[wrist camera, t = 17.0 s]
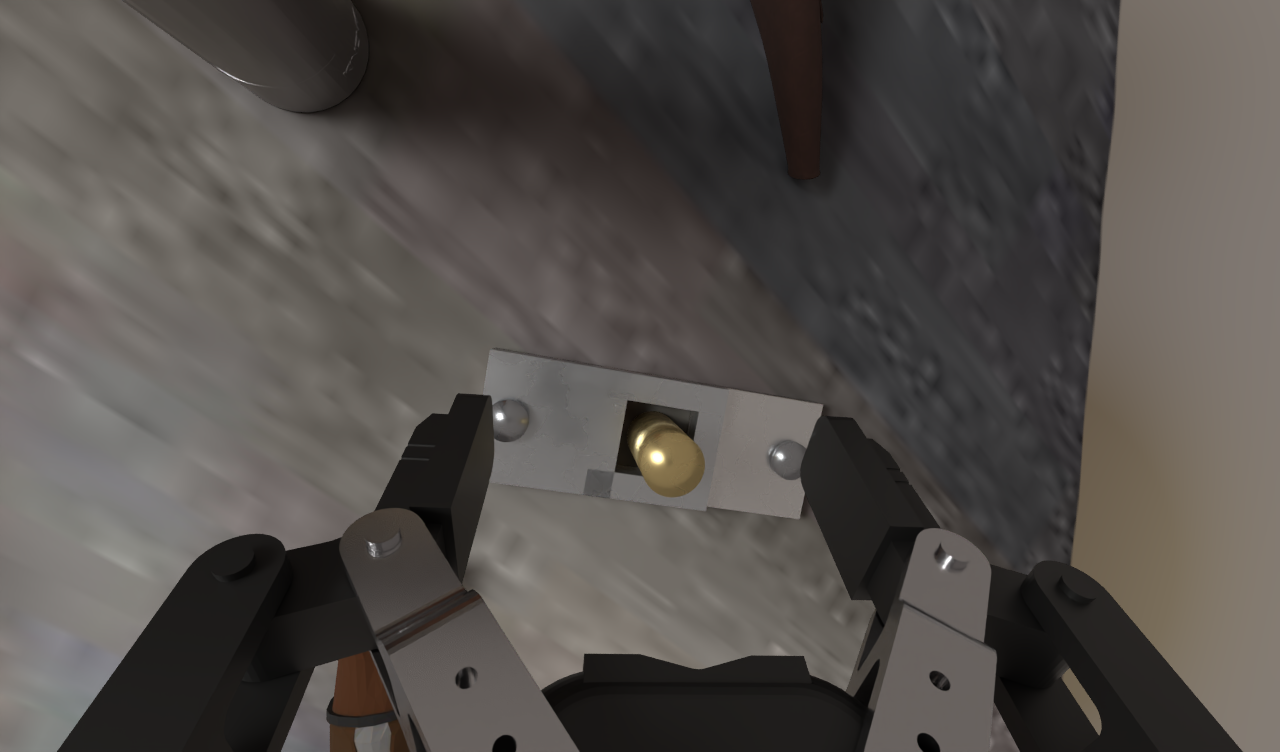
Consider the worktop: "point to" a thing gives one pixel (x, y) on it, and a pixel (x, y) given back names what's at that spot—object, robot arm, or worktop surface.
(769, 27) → the holster
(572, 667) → the worktop surface
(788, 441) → the grey metal plate
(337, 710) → the toy
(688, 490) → the pin
